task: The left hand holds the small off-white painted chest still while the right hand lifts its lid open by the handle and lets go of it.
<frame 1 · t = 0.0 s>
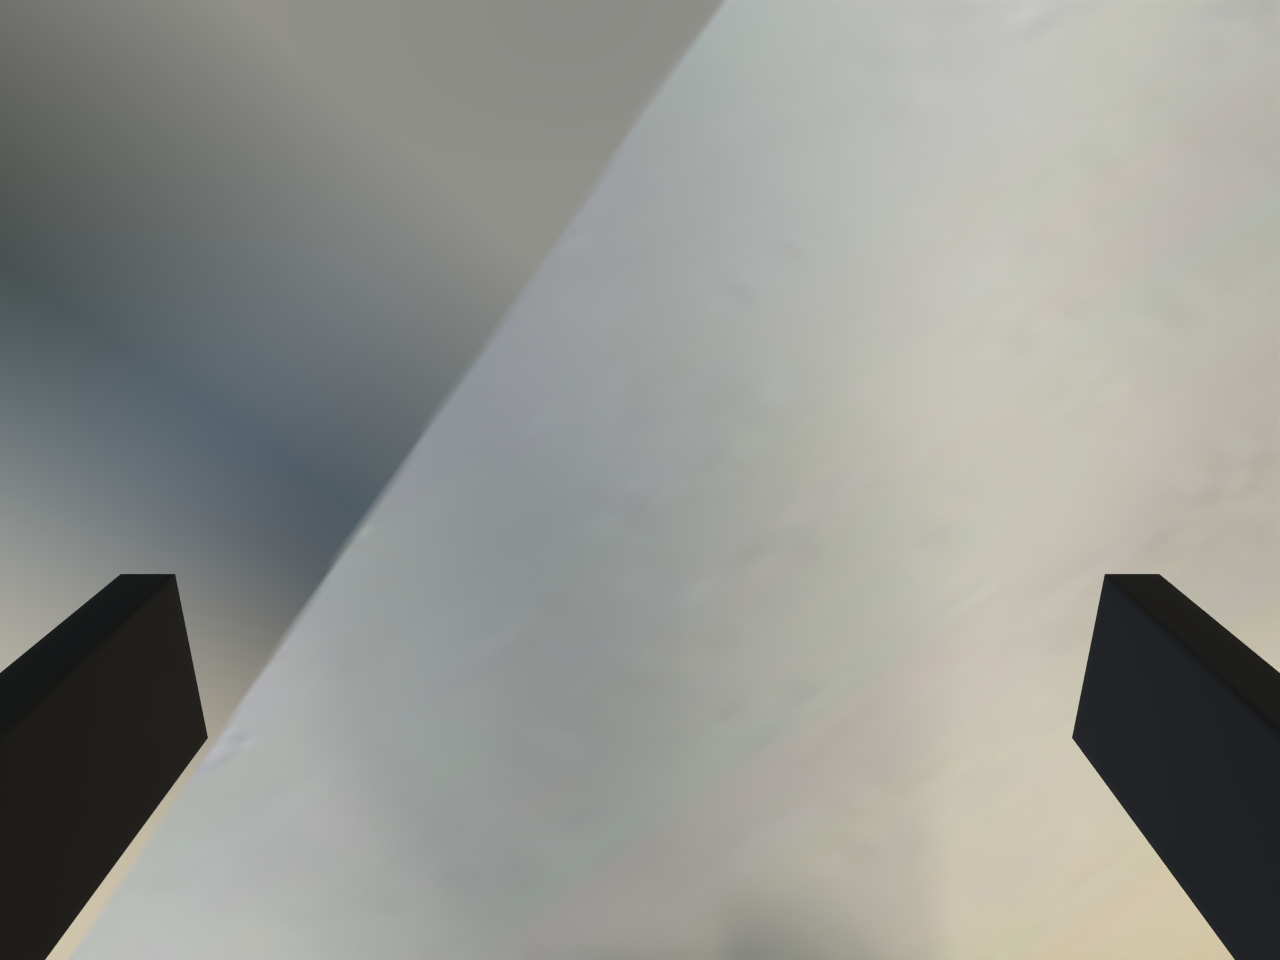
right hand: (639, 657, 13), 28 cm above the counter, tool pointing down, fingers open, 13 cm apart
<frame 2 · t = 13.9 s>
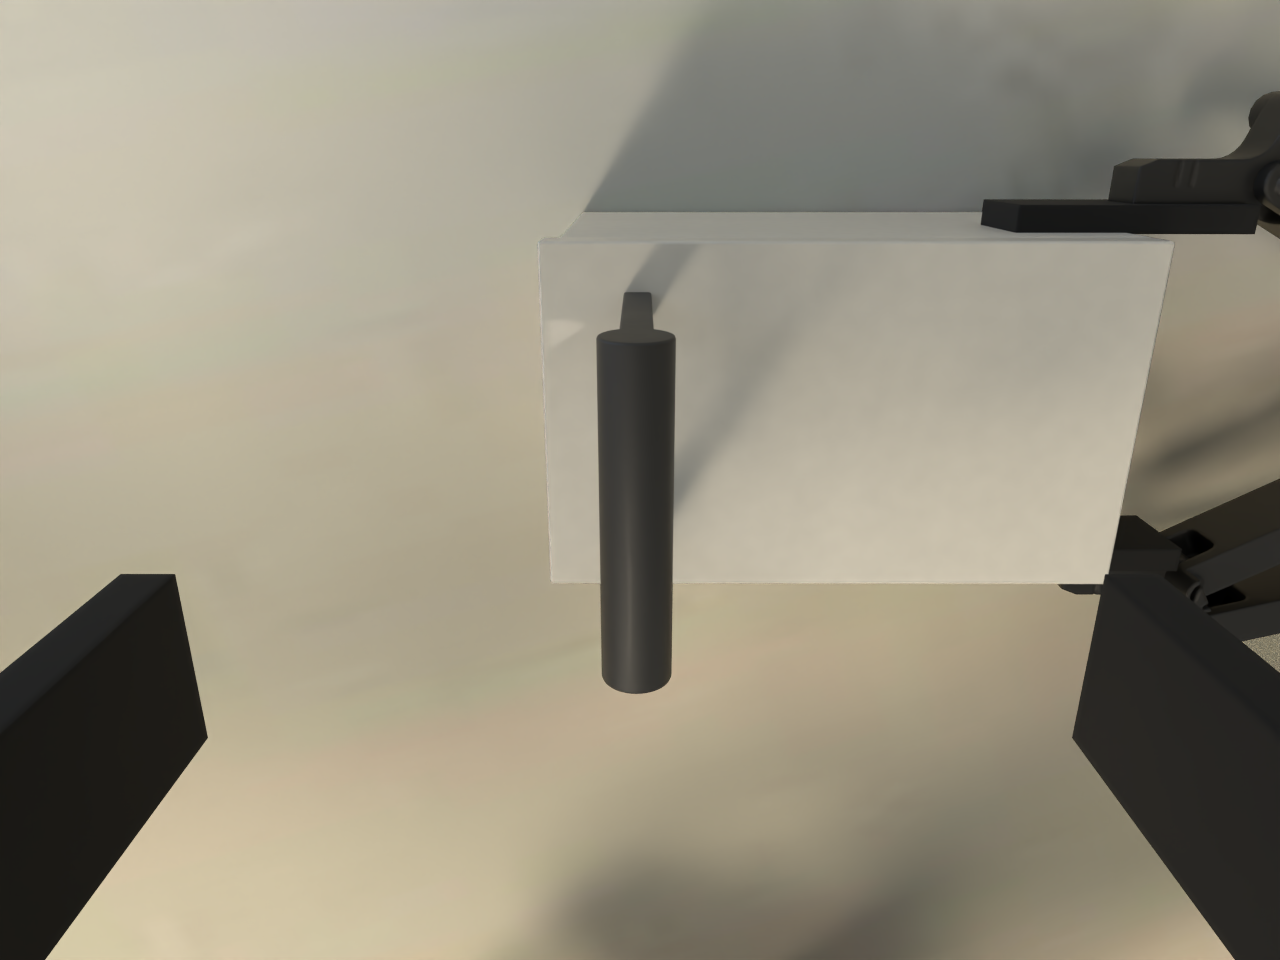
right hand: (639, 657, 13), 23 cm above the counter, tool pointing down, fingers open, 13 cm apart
chest: (787, 341, 34), on the counter, touching left hand
lid: (868, 461, 21), point 14 cm above the counter, hinge at 0.0°
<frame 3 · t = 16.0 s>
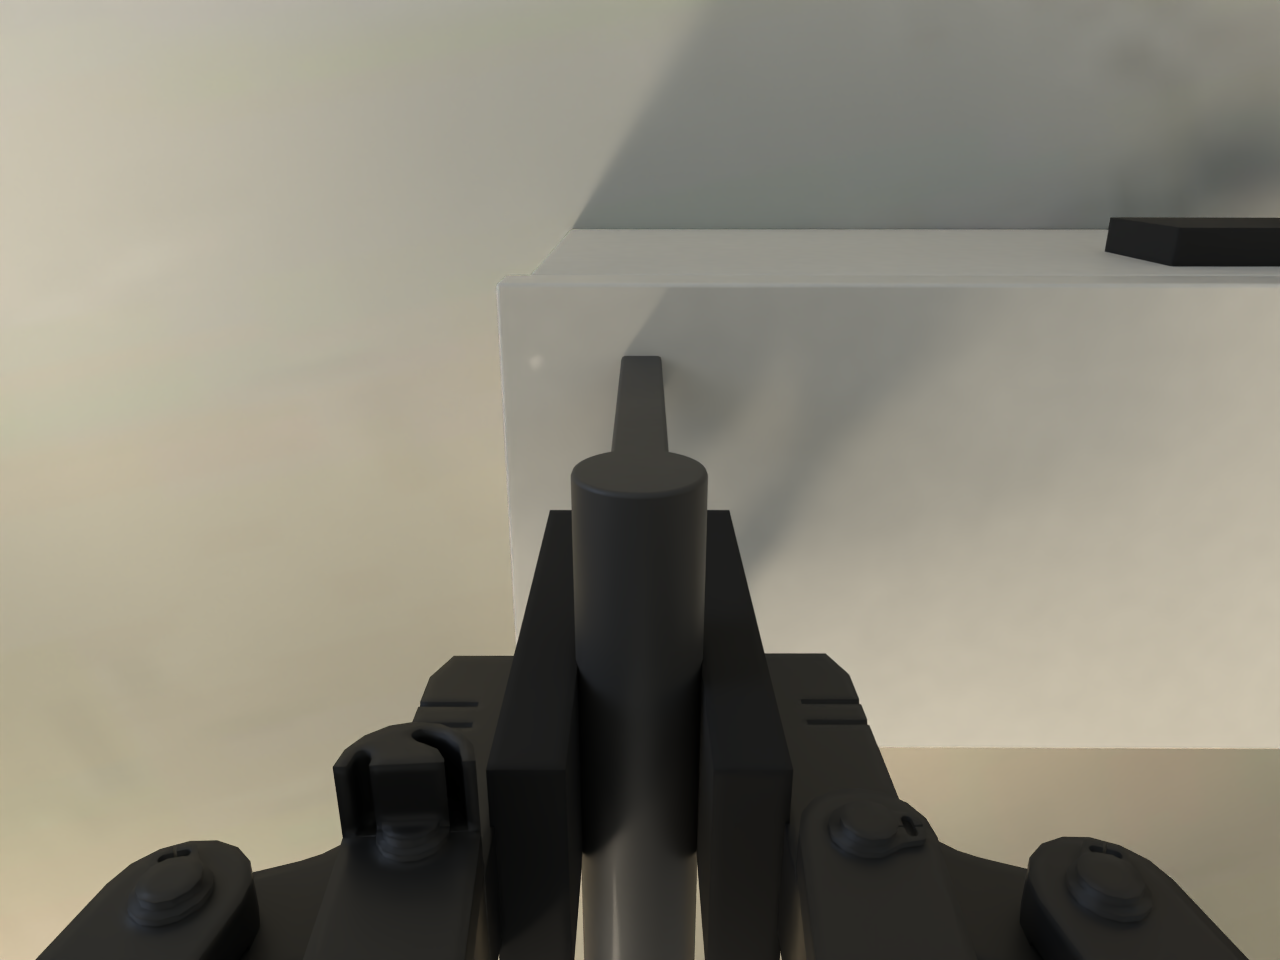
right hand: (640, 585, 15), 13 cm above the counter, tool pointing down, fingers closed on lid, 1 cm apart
chest: (829, 391, 27), on the counter, touching left hand
lid: (987, 617, 14), point 14 cm above the counter, hinge at -0.1°, touching right hand
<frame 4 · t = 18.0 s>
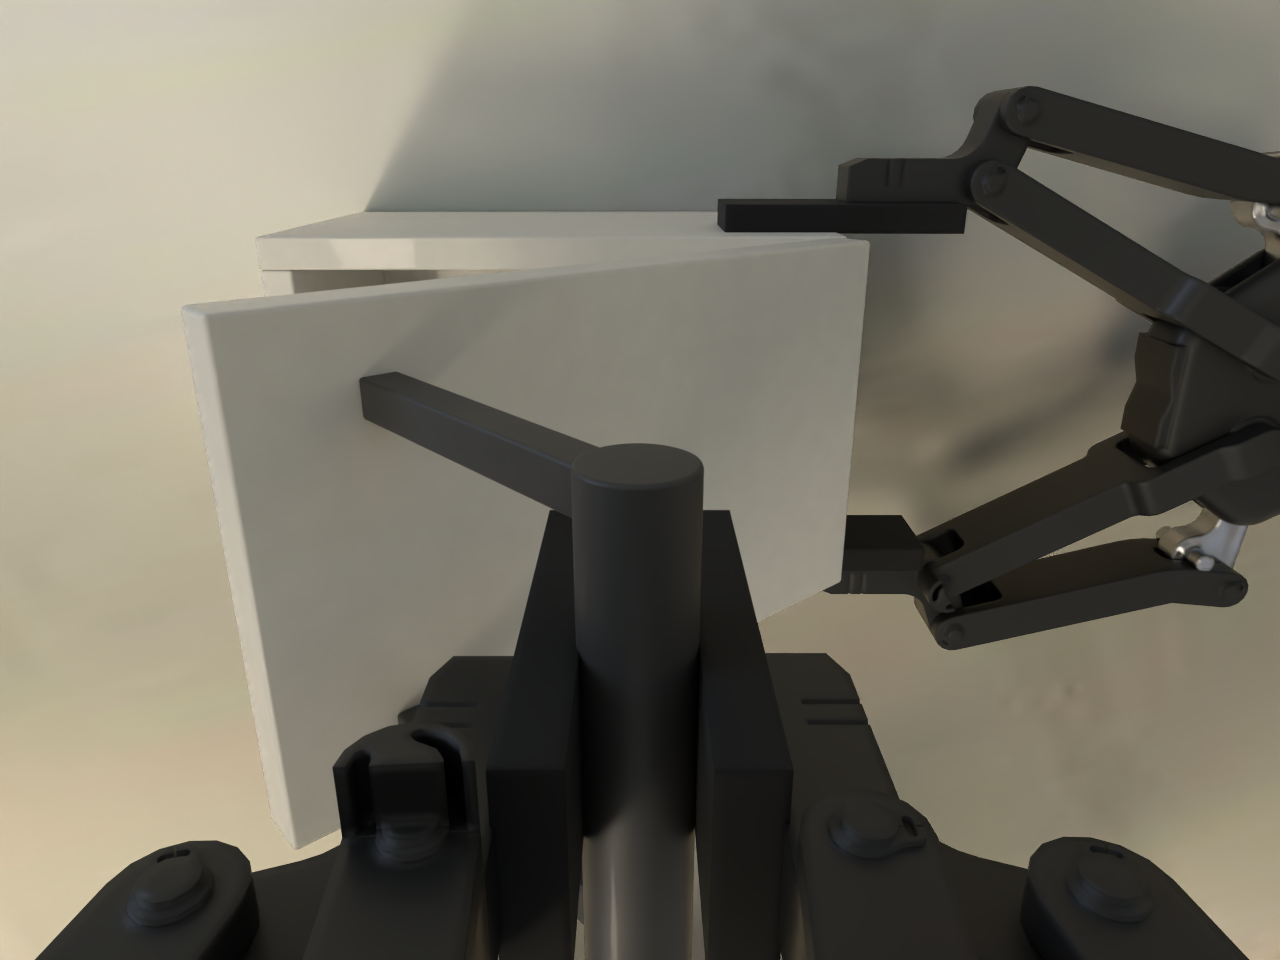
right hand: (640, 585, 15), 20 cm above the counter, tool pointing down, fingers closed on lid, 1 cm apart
left hand: (716, 389, 27), fingers closed on chest, 9 cm apart
chest: (578, 341, 34), on the counter, touching left hand
lid: (736, 537, 17), point 18 cm above the counter, hinge at 41.2°, touching right hand
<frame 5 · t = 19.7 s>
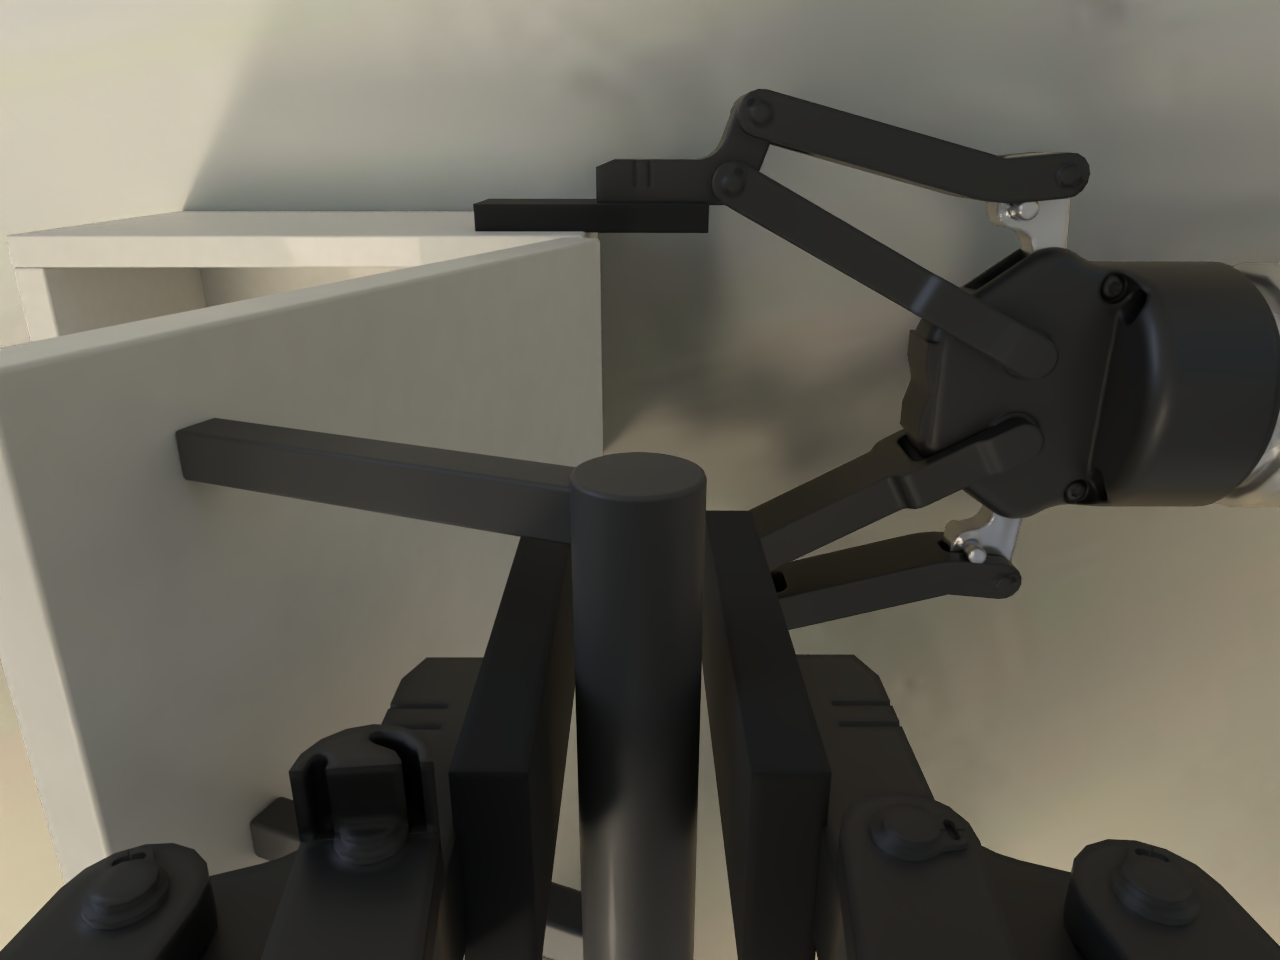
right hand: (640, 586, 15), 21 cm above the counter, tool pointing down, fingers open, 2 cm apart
left hand: (492, 385, 28), fingers closed on chest, 9 cm apart
chest: (400, 338, 35), on the counter, touching left hand
lid: (579, 541, 17), point 19 cm above the counter, hinge at 68.1°
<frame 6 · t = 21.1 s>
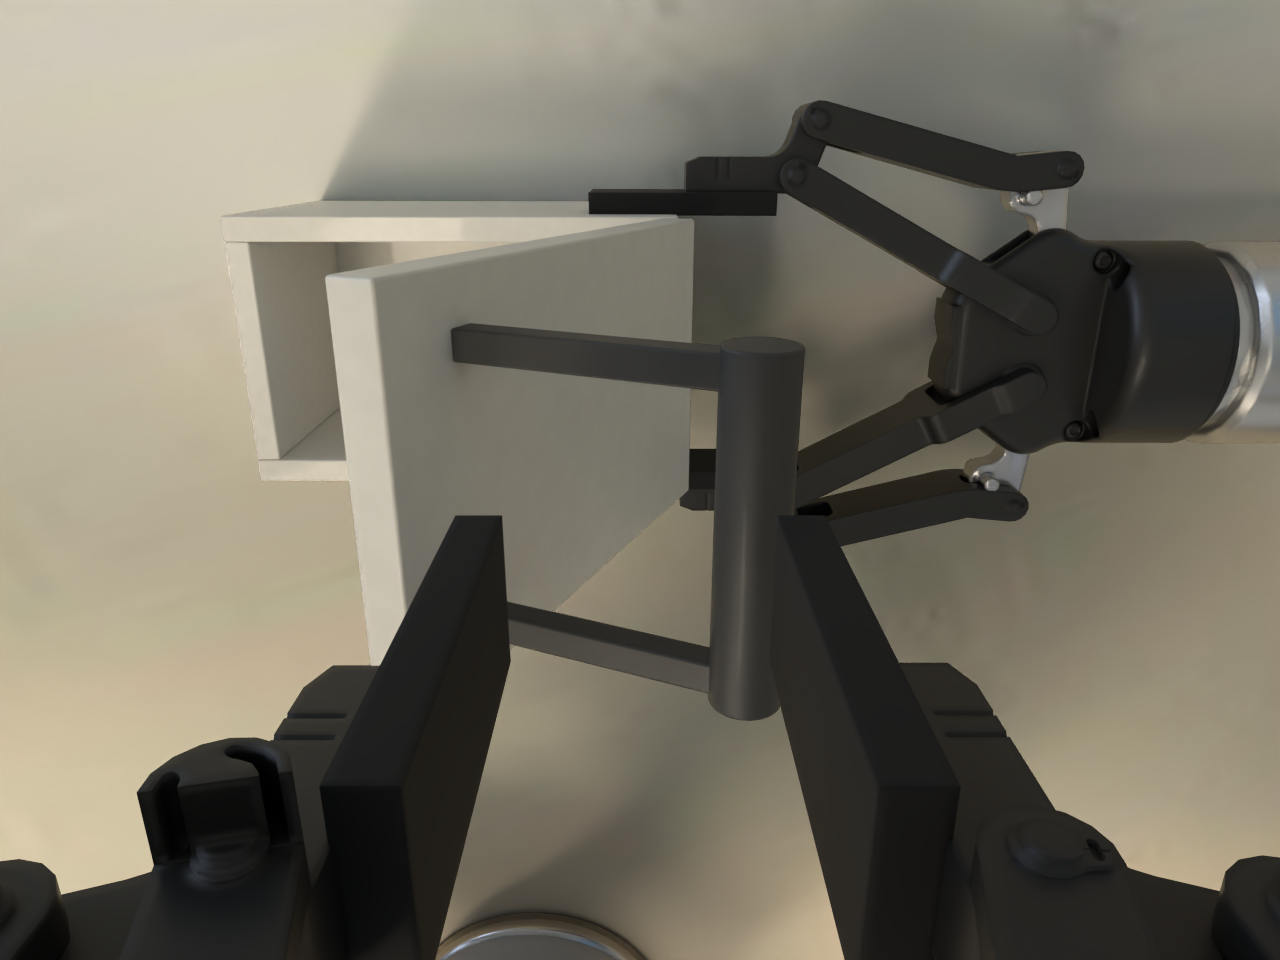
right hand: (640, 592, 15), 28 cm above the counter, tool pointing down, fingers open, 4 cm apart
left hand: (593, 342, 34), fingers closed on chest, 9 cm apart
chest: (499, 309, 41), on the counter, touching left hand
lid: (690, 435, 23), point 19 cm above the counter, hinge at 66.0°
when the left hand's fingers open (7 cm above the counter, at t = 23.8 s): chest stays where it is, on the counter.
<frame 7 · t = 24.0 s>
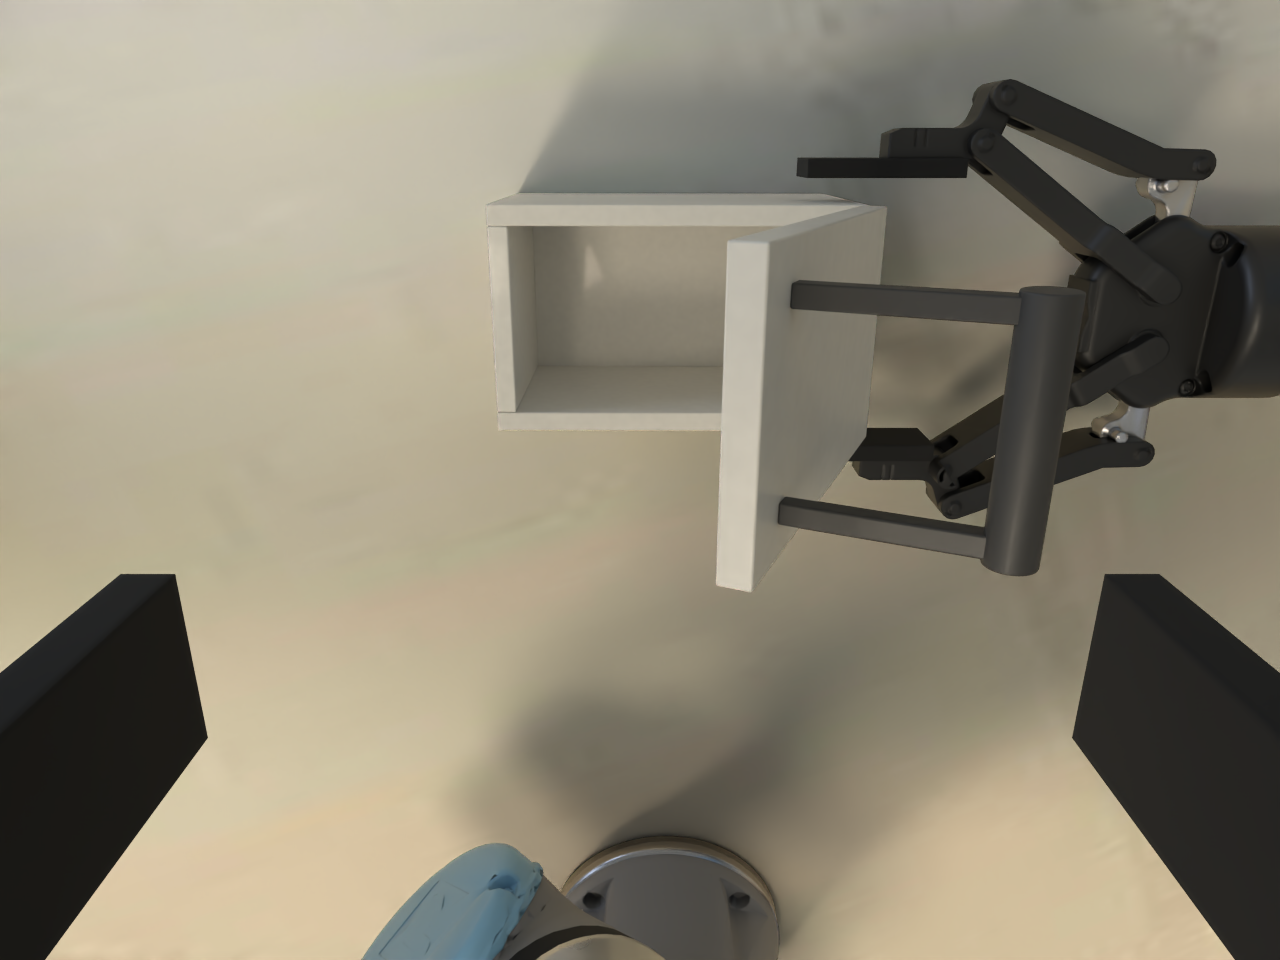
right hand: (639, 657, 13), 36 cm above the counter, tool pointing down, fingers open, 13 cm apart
left hand: (793, 313, 40), fingers open, 11 cm apart
chest: (668, 288, 47), on the counter
lid: (924, 376, 29), point 19 cm above the counter, hinge at 65.5°
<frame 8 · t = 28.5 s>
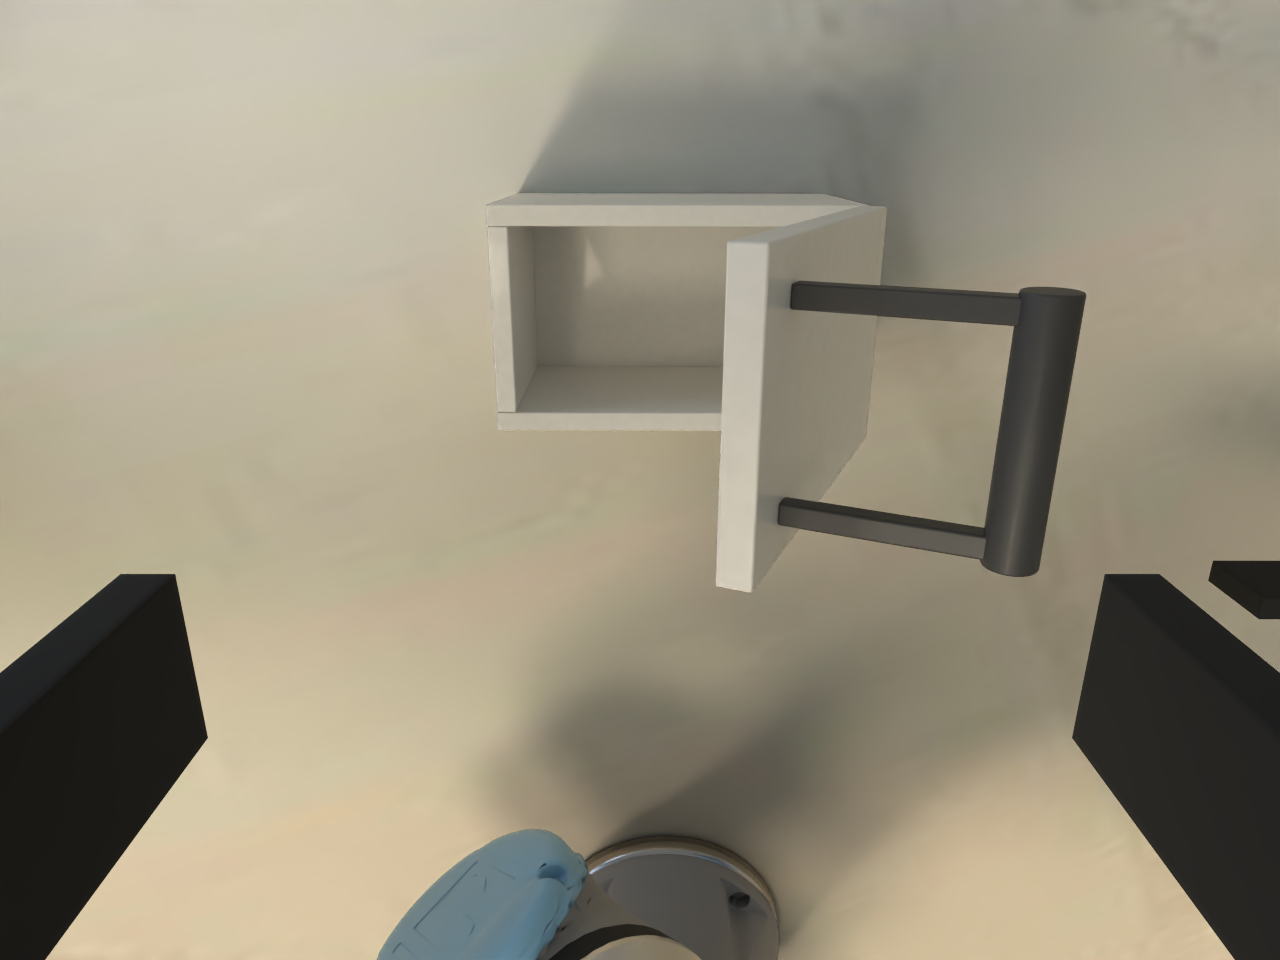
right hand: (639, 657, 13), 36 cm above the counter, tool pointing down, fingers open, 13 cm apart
chest: (668, 288, 47), on the counter
lid: (924, 376, 29), point 19 cm above the counter, hinge at 65.5°
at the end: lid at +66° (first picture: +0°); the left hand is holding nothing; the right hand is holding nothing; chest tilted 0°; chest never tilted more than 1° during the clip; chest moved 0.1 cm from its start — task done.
